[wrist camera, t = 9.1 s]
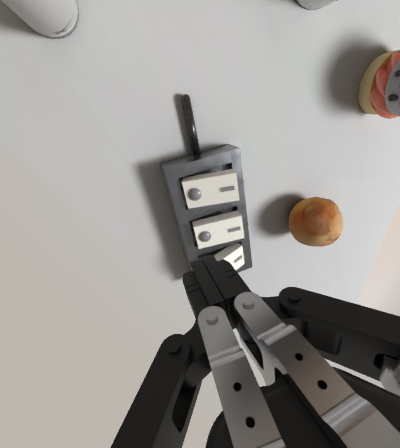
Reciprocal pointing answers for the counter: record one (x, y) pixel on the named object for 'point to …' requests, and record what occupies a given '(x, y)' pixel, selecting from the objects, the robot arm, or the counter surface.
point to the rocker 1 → (211, 188)
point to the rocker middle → (218, 229)
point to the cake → (381, 86)
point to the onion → (316, 222)
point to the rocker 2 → (232, 255)
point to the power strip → (204, 164)
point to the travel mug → (47, 15)
